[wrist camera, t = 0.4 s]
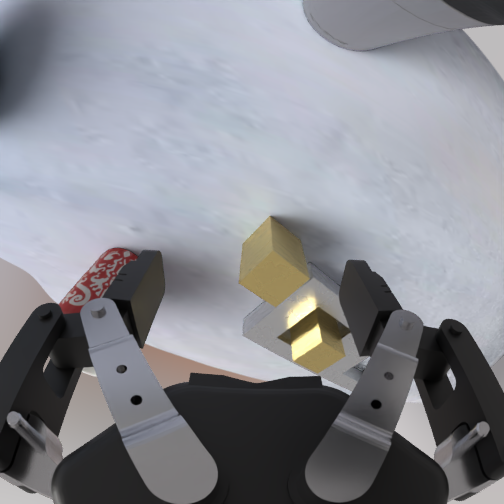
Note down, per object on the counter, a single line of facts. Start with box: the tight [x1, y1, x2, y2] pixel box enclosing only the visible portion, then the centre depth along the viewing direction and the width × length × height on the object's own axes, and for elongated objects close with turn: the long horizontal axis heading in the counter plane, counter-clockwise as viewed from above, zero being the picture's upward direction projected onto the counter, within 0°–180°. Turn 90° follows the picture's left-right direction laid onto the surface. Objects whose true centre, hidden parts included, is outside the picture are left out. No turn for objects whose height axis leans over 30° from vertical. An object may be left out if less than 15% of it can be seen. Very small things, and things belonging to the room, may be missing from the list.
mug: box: [58, 248, 138, 377], centre depth 29 cm, size 13×9×14 cm
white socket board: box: [242, 262, 369, 391], centre depth 38 cm, size 28×12×3 cm, turn 50°
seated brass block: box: [290, 307, 346, 374], centre depth 34 cm, size 4×4×7 cm
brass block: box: [239, 216, 310, 307], centre depth 28 cm, size 4×4×7 cm
